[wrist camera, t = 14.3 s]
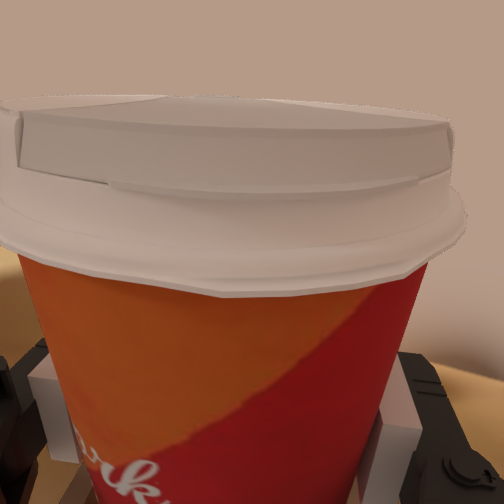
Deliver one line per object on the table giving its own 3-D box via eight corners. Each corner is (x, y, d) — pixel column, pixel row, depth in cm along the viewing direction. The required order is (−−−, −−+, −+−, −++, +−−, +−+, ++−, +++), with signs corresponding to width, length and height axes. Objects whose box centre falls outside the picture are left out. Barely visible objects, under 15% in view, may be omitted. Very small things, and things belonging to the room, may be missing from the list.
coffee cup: (117, 470, 16) (52, 88, 10) (301, 444, 17) (349, 99, 11) (66, 820, 8) (-386, 124, 2) (397, 720, 10) (710, 143, 4)
